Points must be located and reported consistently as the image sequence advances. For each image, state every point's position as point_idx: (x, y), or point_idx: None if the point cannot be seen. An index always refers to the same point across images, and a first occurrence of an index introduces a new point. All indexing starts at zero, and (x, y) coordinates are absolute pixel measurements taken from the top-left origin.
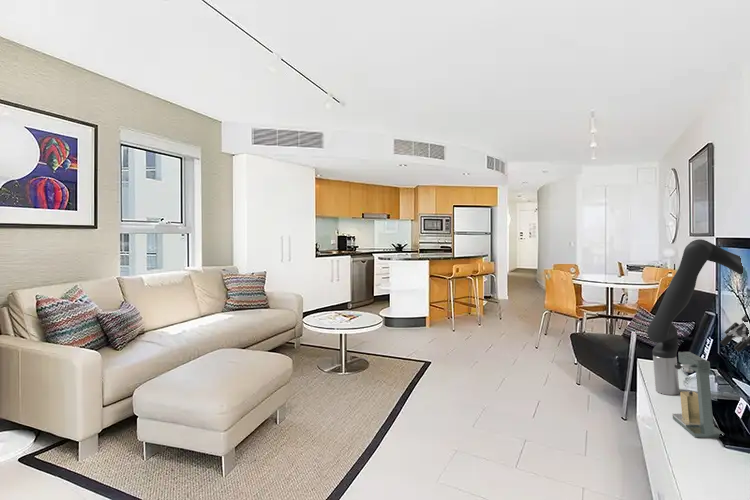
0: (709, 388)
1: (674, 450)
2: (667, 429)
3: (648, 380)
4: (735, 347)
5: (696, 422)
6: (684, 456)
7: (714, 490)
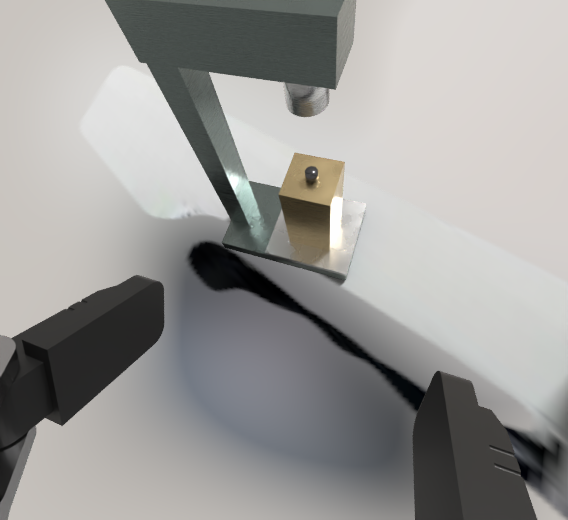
0: (179, 119)
1: None
2: None
3: None
4: (131, 277)
5: None
6: None
7: (102, 98)
